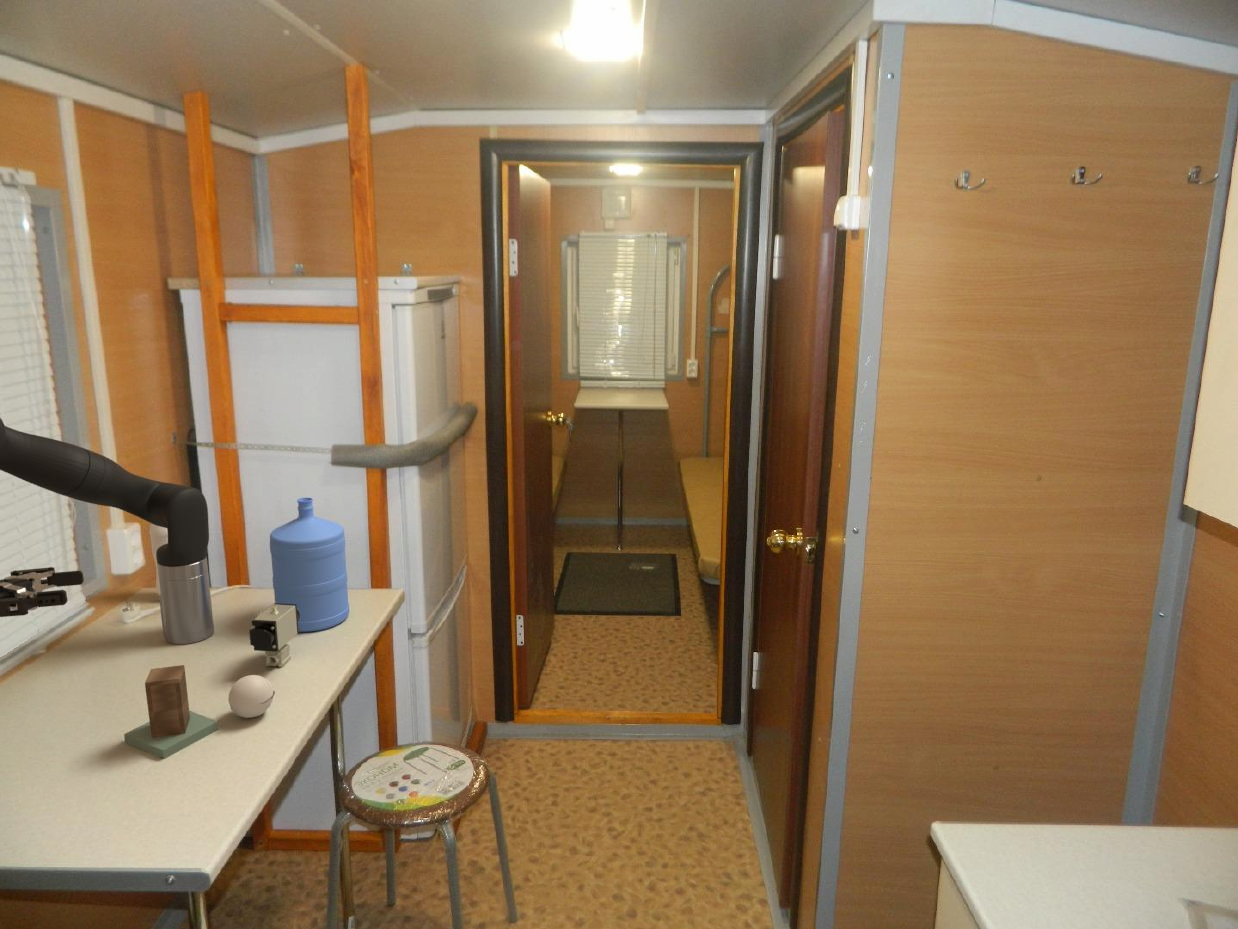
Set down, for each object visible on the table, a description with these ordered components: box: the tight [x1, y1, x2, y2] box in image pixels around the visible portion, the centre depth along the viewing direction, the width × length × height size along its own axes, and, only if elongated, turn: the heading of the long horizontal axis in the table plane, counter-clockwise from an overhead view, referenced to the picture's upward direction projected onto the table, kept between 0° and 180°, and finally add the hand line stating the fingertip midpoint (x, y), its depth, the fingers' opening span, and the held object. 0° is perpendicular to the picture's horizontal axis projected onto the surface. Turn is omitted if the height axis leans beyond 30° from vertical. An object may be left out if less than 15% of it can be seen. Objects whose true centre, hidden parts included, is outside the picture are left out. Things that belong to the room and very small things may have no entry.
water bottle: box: [148, 523, 168, 596], centre depth 194 cm, size 7×7×25 cm
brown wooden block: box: [144, 664, 190, 738], centre depth 138 cm, size 5×5×10 cm
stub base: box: [123, 710, 219, 759], centre depth 139 cm, size 10×10×8 cm
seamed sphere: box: [227, 674, 275, 719], centre depth 147 cm, size 10×7×7 cm
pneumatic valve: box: [249, 602, 300, 668], centre depth 164 cm, size 6×12×12 cm, turn 174°
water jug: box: [269, 497, 350, 633], centre depth 183 cm, size 16×16×28 cm
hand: (74, 587), depth 130 cm, fingers open, 8 cm apart
